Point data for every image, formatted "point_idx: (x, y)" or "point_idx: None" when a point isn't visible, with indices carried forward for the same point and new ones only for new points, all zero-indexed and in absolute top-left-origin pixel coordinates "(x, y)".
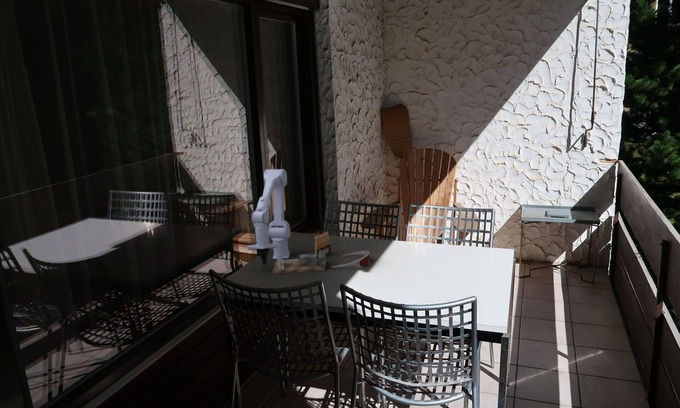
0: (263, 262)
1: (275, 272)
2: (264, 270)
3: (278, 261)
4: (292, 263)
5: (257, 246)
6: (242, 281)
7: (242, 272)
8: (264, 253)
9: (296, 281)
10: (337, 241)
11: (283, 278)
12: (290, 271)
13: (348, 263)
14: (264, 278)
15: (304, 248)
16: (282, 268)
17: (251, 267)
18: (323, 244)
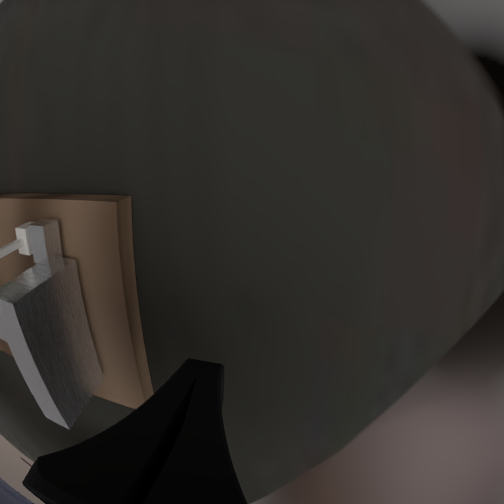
0: (208, 379)
1: (98, 198)
2: (229, 321)
3: (13, 293)
4: None
5: None
6: (456, 66)
7: (441, 322)
8: (111, 479)
9: (3, 27)
10: (28, 450)
11: (49, 65)
12: (6, 196)
13: None
14: (214, 67)
15: None
16: (29, 224)
17: (347, 406)
18: None
